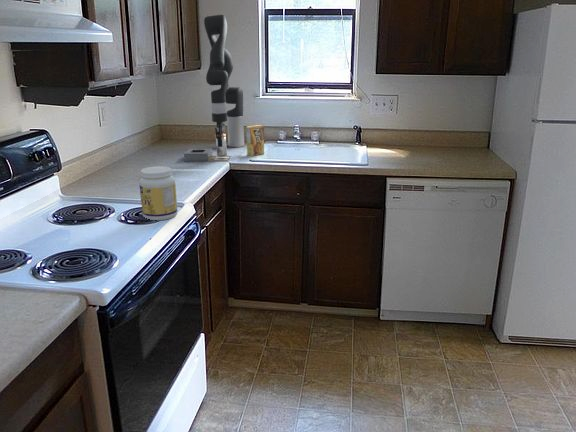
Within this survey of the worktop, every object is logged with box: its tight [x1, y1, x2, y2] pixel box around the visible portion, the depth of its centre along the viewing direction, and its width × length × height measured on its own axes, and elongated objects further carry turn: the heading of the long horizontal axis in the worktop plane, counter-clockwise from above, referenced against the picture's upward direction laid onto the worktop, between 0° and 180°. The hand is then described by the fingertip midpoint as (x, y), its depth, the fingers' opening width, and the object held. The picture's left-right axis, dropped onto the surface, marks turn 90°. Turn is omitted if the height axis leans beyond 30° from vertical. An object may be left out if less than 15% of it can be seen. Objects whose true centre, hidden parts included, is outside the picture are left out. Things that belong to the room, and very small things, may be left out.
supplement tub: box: [138, 165, 179, 221], centre depth 182 cm, size 12×12×17 cm
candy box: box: [245, 124, 265, 157], centre depth 277 cm, size 9×4×15 cm, turn 129°
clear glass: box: [214, 133, 228, 157], centre depth 264 cm, size 5×5×11 cm
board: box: [183, 155, 232, 163], centre depth 267 cm, size 13×22×1 cm, turn 87°
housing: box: [183, 148, 213, 161], centre depth 267 cm, size 12×12×4 cm
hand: (221, 145), depth 264 cm, fingers closed on clear glass, 5 cm apart
